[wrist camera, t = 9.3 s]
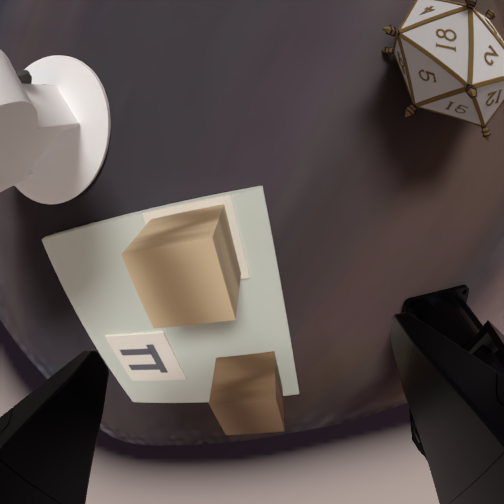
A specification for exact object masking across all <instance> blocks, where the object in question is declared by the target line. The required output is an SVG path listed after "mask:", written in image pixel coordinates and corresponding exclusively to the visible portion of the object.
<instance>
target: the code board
mask: <svg viewBox="0 0 504 504" xmlns="http://www.w3.org/2000/svg"><path fill="white" fill-rule="evenodd" d="M222 204H224V206H225V210H226V214H227V218H228V222H229V226H230V230H231V235H232V239H233V243H234V247H235V251H236V255H237V259H238V263H239V267H240V271H241V278H240V287H239V295H238V304H237V313H236V320H230V321H222V322H214V323H205V324H196V325H186V326H176V327H165V328H153V326H152V324H151V322H150V320H149V318H148V315H147V313H146V311H145V309H144V307H143V304H142V302H141V300H140V298H139V295H138V293H137V291H136V289H135V286H134V284H133V282H132V279H131V277H130V274H129V272H128V269H127V267H126V265H125V262H124V260H123V257H122V255H121V254H122V253H123V252H124V250H125V249H126V248H127V247H128V246H129V244H130V243H131V242H132V241H133V240H134V238H135V237H136V236H137V235H138V234H139V232H140V231H141V230H142V229H143V228H144V227H145V225H146V224H147V223H148V222H149V221H150V220H151V219H154V218H159V217H163V216H168V215H173V214H177V213H182V212H187V211H192V210H197V209H202V208H207V207H212V206H217V205H222ZM41 240H42V242H43V245H44V247H45V249H46V252H47V254H48V256H49V259H50V261H51V263H52V265H53V267H54V270H55V272H56V274H57V276H58V278H59V280H60V282H61V284H62V286H63V288H64V290H65V292H66V294H67V296H68V298H69V300H70V302H71V304H72V306H73V308H74V310H75V311H76V313H77V315H78V317H79V319H80V321H81V322H82V324H83V326H84V328H85V329H86V331H87V333H88V335H89V336H90V338H91V340H92V341H93V343H94V345H95V346H96V348H97V349H98V351H99V353H100V354H101V356H102V357H103V359H104V361H105V362H106V364H107V365H108V367H109V368H110V370H111V371H112V373H113V374H114V376H115V377H116V379H117V380H118V382H119V383H120V384H121V386H122V387H123V389H124V390H125V392H126V393H127V394H128V396H129V397H130V398H131V400H132V401H133V402H146V403H198V402H209V399H210V393H211V386H212V380H213V374H214V367H215V361H216V358H218V357H228V356H238V355H247V354H255V353H263V352H271V351H274V352H275V356H276V361H277V365H278V369H279V374H280V378H281V383H282V388H283V396H288V395H295V394H299V388H298V382H297V375H296V369H295V363H294V357H293V351H292V345H291V339H290V333H289V327H288V321H287V315H286V310H285V304H284V298H283V292H282V287H281V281H280V275H279V270H278V264H277V259H276V253H275V248H274V243H273V237H272V232H271V227H270V221H269V216H268V211H267V206H266V200H265V195H264V190H263V185H262V186H257V187H251V188H246V189H240V190H235V191H230V192H225V193H220V194H215V195H210V196H205V197H200V198H195V199H191V200H186V201H181V202H177V203H172V204H168V205H163V206H159V207H155V208H150V209H146V210H142V211H138V212H134V213H130V214H126V215H122V216H118V217H114V218H110V219H106V220H102V221H98V222H94V223H91V224H87V225H83V226H80V227H76V228H73V229H69V230H66V231H62V232H59V233H55V234H52V235H48V236H45V237H44V238H43V239H41Z"/></svg>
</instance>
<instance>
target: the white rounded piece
mask: <svg viewBox="0 0 504 504" xmlns="http://www.w3.org/2000/svg"><path fill="white" fill-rule="evenodd" d="M110 130H111V119H110V109H109V103H108V99H107V96H106V93H105V90H104V88H103V86H102V83H101V82H100V80H99V78H98V77H97V75H96V74H95V73H94V72H93V71H92V69H91V68H90V67H88V66H87V65H86V64H85V63H83V62H81V61H80V60H77V59H75V58H72V57H68V56H49V57H45V58H42V59H40V60H38V61H36V62H34V63H32V64H31V65H29V66H28V67H27V68H26V69H24V70H22V71H19V72H15V70H14V68H13V66H12V64H11V62H10V60H9V58H8V57H7V56H6V54H5V53H4V52H3V51H1V50H0V192H1V191H3V190H5V189H7V188H9V187H11V186H13V185H15V187H16V188H17V189H18V190H19V191H20V192H21V193H23V194H24V195H25V196H27V197H28V198H30V199H32V200H34V201H36V202H39V203H43V204H59V203H64V202H66V201H69V200H71V199H73V198H74V197H76V196H77V195H79V194H80V193H82V192H83V191H84V190H85V189H86V188H87V187H88V186H89V185H90V184H91V183H92V181H93V180H94V179H95V177H96V176H97V174H98V172H99V170H100V169H101V166H102V164H103V162H104V159H105V156H106V153H107V149H108V145H109V139H110Z"/></svg>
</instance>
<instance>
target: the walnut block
mask: <svg viewBox="0 0 504 504" xmlns="http://www.w3.org/2000/svg"><path fill="white" fill-rule="evenodd" d="M209 405H210V407H211V409H212V411H213V413H214V415H215V416H216V418H217V420H218V422H219V424H220V425H221V427H222V429H223V431H224V432H225V434H226V435H242V434H257V433H269V432H279V431H284V409H283V388H282V383H281V378H280V374H279V369H278V365H277V361H276V356H275V352H274V351H271V352H263V353H255V354H247V355H238V356H228V357H218V358H216V361H215V367H214V374H213V380H212V386H211V393H210V399H209Z"/></svg>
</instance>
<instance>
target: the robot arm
mask: <svg viewBox="0 0 504 504" xmlns="http://www.w3.org/2000/svg"><path fill="white" fill-rule="evenodd" d="M468 293H469V288H468V287H467V286H466V285H461V286H457V287H453V288H449V289H445V290H441V291H437V292H433V293H429V294H425V295H420V296H416V297H412V298H409V299H407V300H406V301H405V303H404V312H403V313H400V314H396V315H394V316H393V319H392V327H391V345H392V349H393V352H394V356H395V360H396V364H397V368H398V371H399V375H400V379H401V383H402V387H403V390H404V393H405V396H406V399H407V402H408V404H409V410H410V421H411V432H412V440H413V442H414V443H415V445H416V446H417V448H418V450H419V451H420V452H421V453H422V454H423V455H424V456H425V458H426V460H427V461H428V464H429V467H430V470H431V474H432V477H433V481H434V484H435V488H436V492H437V495H438V499H439V503H440V504H504V335H503V334H502V333H501V332H500V331H499V330H498V329H497V328H496V327H495V326H494V325H493V324H492V323H491V322H489V321H487V322H486V323H485V324H484V325H482V324H481V322H480V321H479V320H478V318H477V317H476V316H475V314H474V313H473V312H472V311H471V309H470V308H469V307H468V305H467V304H466V302H467V297H468ZM411 303H412V304H411ZM410 304H411V305H410ZM483 326H484V327H483ZM108 376H109V371H108V367H107V366H106V364H105V362H104V361H103V359H102V358H101V356H100V355H99V353H98V352H97V351H96V350H85V351H83V352H82V353H81V354H79V355H78V356H77V357H76V358H74V359H73V360H72V361H70V362H69V363H68V364H67V365H65V366H64V367H63V368H62V369H60V370H59V371H58V372H56V373H55V374H54V375H53V376H51V377H50V378H49V379H48V380H46V381H45V382H44V383H43V384H41V385H40V386H39V387H38V388H36V389H35V390H34V391H33V392H31V393H30V394H29V395H28V396H26V397H25V398H24V399H23V400H21V401H20V402H19V403H18V404H17V405H15V406H14V407H13V408H11V409H10V410H9V411H8V412H6V413H5V414H4V415H3V416H1V417H0V504H85V502H86V495H87V488H88V483H89V477H90V471H91V466H92V461H93V456H94V451H95V445H96V441H97V437H98V432H99V428H100V423H101V419H102V414H103V409H104V402H105V395H106V388H107V382H108Z"/></svg>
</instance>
